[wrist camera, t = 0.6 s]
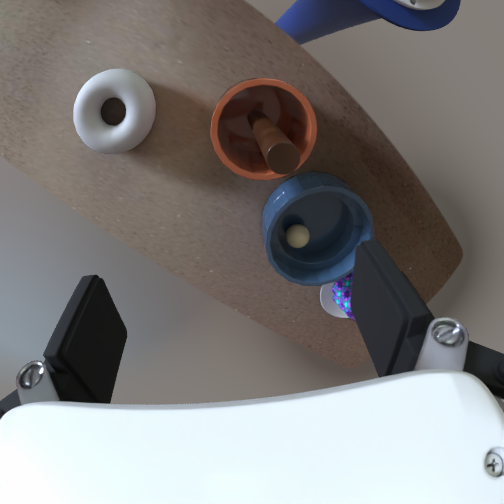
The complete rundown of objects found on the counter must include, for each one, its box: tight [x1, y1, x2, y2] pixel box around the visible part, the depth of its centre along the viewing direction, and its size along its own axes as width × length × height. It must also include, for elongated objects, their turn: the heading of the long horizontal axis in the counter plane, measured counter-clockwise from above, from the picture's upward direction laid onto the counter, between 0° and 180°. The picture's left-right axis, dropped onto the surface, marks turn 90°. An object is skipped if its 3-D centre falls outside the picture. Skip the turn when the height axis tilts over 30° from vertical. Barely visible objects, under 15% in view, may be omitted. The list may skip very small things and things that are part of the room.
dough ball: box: [286, 224, 310, 248], centre depth 39 cm, size 3×3×3 cm
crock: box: [210, 78, 317, 180], centre depth 29 cm, size 9×9×9 cm
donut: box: [74, 69, 156, 154], centre depth 30 cm, size 10×4×10 cm
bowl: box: [261, 172, 374, 286], centre depth 38 cm, size 13×13×6 cm
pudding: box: [320, 270, 356, 321], centre depth 45 cm, size 12×12×5 cm
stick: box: [247, 109, 300, 175], centre depth 25 cm, size 2×2×18 cm
